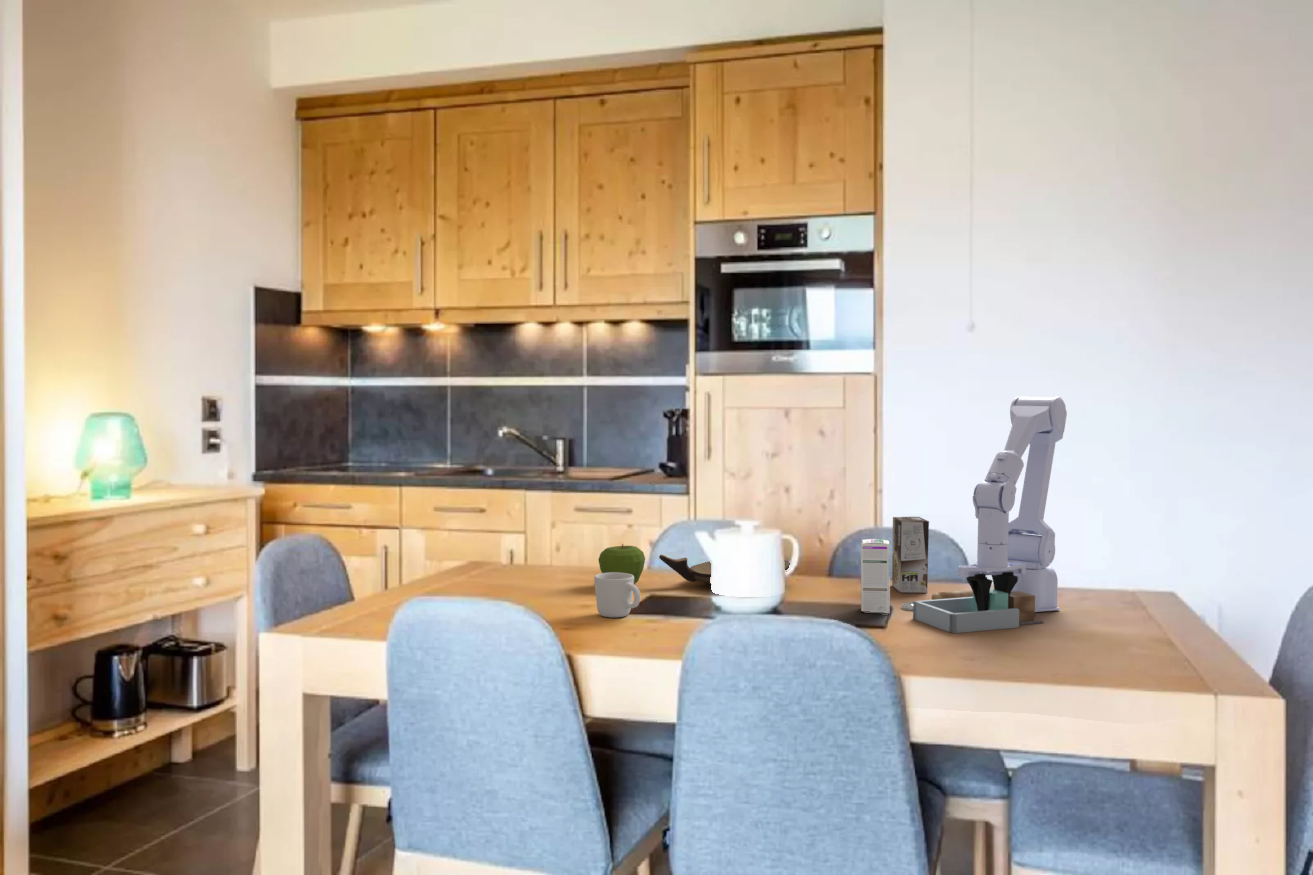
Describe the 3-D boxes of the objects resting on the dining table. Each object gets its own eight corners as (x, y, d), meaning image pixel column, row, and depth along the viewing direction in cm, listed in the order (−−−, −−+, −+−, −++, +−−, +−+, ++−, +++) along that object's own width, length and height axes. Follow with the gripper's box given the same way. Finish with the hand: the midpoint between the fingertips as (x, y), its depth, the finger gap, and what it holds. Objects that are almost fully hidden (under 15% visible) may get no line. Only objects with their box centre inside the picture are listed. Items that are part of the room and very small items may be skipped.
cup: (652, 617, 211) (652, 577, 210) (624, 624, 205) (624, 582, 205) (614, 609, 218) (614, 570, 218) (585, 615, 212) (585, 575, 212)
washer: (915, 607, 224) (915, 601, 224) (927, 611, 219) (928, 605, 219) (897, 608, 222) (897, 602, 222) (909, 612, 218) (909, 606, 218)
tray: (976, 613, 216) (976, 596, 216) (1018, 627, 204) (1019, 609, 204) (913, 618, 211) (913, 601, 211) (952, 633, 199) (952, 614, 198)
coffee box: (928, 593, 237) (929, 521, 236) (899, 593, 237) (900, 520, 236) (919, 585, 246) (920, 516, 245) (891, 585, 246) (892, 515, 245)
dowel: (977, 599, 231) (978, 588, 231) (984, 601, 229) (984, 590, 229) (928, 603, 227) (929, 592, 227) (935, 605, 225) (935, 594, 225)
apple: (624, 580, 250) (625, 538, 249) (655, 587, 242) (655, 543, 242) (588, 586, 242) (588, 543, 242) (618, 593, 235) (619, 548, 234)
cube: (1017, 615, 214) (1018, 591, 214) (1034, 620, 210) (1035, 595, 210) (997, 617, 213) (997, 592, 213) (1013, 622, 208) (1014, 597, 208)
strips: (1010, 612, 217) (1010, 610, 217) (1043, 623, 208) (1043, 620, 208) (985, 614, 215) (985, 612, 215) (1017, 625, 206) (1017, 623, 206)
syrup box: (889, 615, 214) (890, 543, 214) (859, 613, 215) (860, 542, 215) (889, 609, 220) (890, 539, 219) (860, 607, 221) (861, 538, 220)
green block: (984, 616, 214) (985, 586, 213) (1007, 624, 207) (1008, 593, 207) (972, 617, 213) (973, 587, 212) (994, 625, 206) (995, 594, 206)
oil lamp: (791, 597, 232) (791, 562, 232) (655, 592, 237) (655, 558, 237) (794, 579, 254) (795, 547, 254) (670, 574, 259) (670, 543, 259)
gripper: (1010, 538, 215) (1008, 605, 215) (949, 541, 210) (947, 609, 211) (1033, 543, 208) (1032, 612, 209) (971, 546, 203) (969, 617, 204)
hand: (991, 611), depth 209 cm, fingers open, 4 cm apart
